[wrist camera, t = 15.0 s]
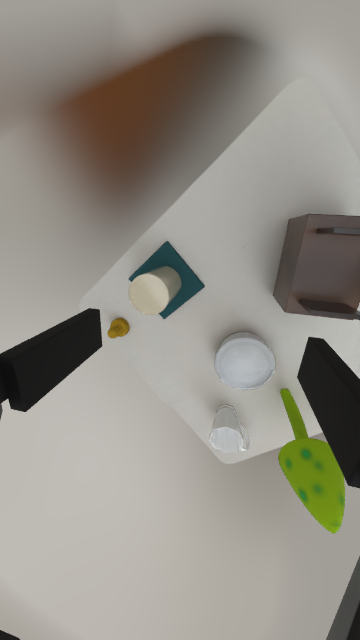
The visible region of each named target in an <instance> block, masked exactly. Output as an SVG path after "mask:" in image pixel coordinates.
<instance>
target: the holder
mask: <svg viewBox="0 0 360 640" xmlns="http://www.w3.org/2000/svg"><path fill="white" fill-rule="evenodd" d="M273 296H274V298H275V299H276V301H277V302H278V303H279V305H280V306H281V308H282V309H283V310H284V312H287V313H295V314H304V315H313V316H321V317H330V318H339V319H347V320H353V319H357V320H360V312H359V311H357V308H358V305H359V303H360V216H344V215H322V214H307V215H303V216H299V217H296V218H292V219H289V222H288V227H287V232H286V237H285V241H284V246H283V251H282V255H281V260H280V265H279V269H278V274H277V279H276V284H275V288H274V293H273Z"/></svg>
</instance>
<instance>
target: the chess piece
mask: <svg viewBox="0 0 360 640" xmlns="http://www.w3.org/2000/svg"><path fill="white" fill-rule="evenodd" d="M128 331H129V324H128V322H127V321H126V320H125V319H122V318H117V319H116V320H114V321H113V322H112V323H111V325H110V329H109V330H108V336H109V337H110V338H116V337H118V336H119V337H121V336H124V335H125V334H126V333H127V332H128Z"/></svg>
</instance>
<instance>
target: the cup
mask: <svg viewBox="0 0 360 640" xmlns="http://www.w3.org/2000/svg"><path fill="white" fill-rule="evenodd" d="M241 431H242V432H241ZM242 433H243V435H244V436H245V439H246V448H244V447H243V446H242V445H243V443H244V439H243V435H242ZM209 440H210V442H211V444H212V445H213V447H214V448H215V449H217V450H220V451H222V452H225V453H230V452H235V451H239V450H241V451H246V450H247V449H249V446H250V440H249V437H248V435H247V433H246V431H245V429H244V428H243V426H242V425H241V423H240V422H239V421H238V418H237V416H236V411H235V409H234V408H233V407H232V406H229V405H227V404H226V405H222V406H219V409H218V411H217V415H216V417H215V420H214V422H213V426H212V429H211V432H210V436H209Z"/></svg>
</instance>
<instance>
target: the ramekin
mask: <svg viewBox="0 0 360 640" xmlns="http://www.w3.org/2000/svg"><path fill="white" fill-rule="evenodd" d="M275 368H276V361H275V357H274V354H273V352H272V350H271V349H270V347H269V346H268V345H267V344H266V343H265V342H264V341H263V340H262V339H261V338H260V337H258V336H257V335H255V334H252V333H248V332H239V333H234V334H232V335H230V336H228V337H227V338H226V339H225V340H224V341H223V342H222V344H221V346H220V347H219V349H218V351H217V353H216V355H215V369H216V372H217V374H218V376H219V378H220V379H221V380H222V381H223V382H224V383H226V384H227V385H229V386H231V387H233V388H236V389H241V390H250V389H256V388H259V387H261V386H263V385H264V384H266V383H267V382H268V381H269V380H270V379H271V378H272V376H273V374H274V372H275Z"/></svg>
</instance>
